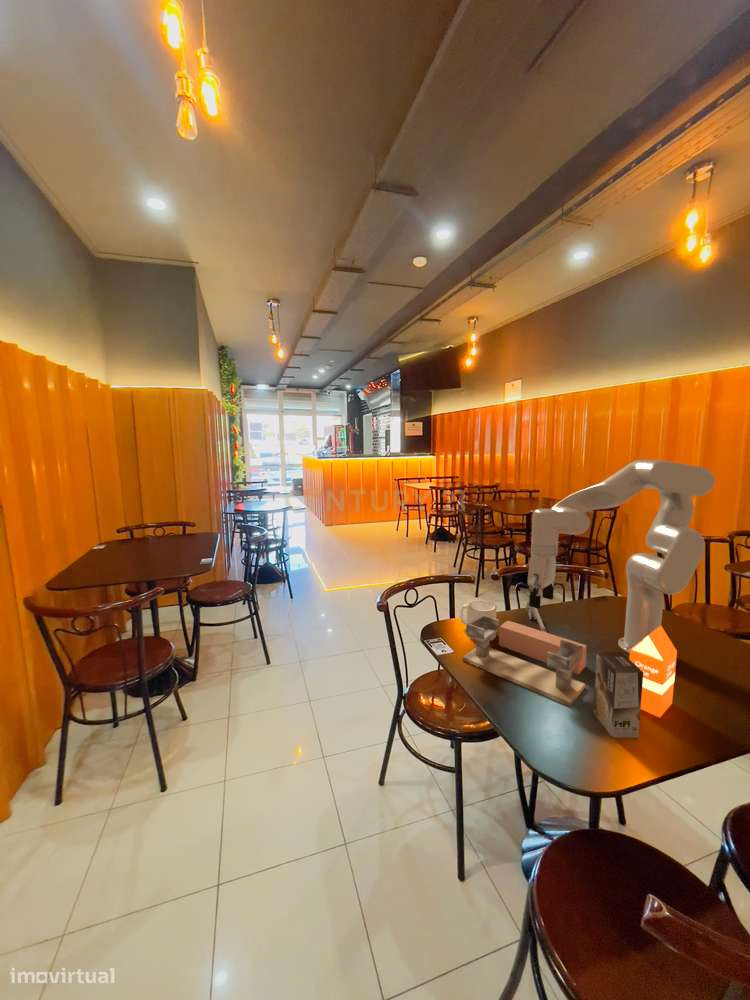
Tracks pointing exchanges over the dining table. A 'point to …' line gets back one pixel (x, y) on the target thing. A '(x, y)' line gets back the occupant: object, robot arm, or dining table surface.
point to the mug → (477, 611)
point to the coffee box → (618, 694)
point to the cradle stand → (526, 664)
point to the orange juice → (656, 670)
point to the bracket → (536, 616)
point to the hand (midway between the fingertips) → (541, 602)
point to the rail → (534, 642)
